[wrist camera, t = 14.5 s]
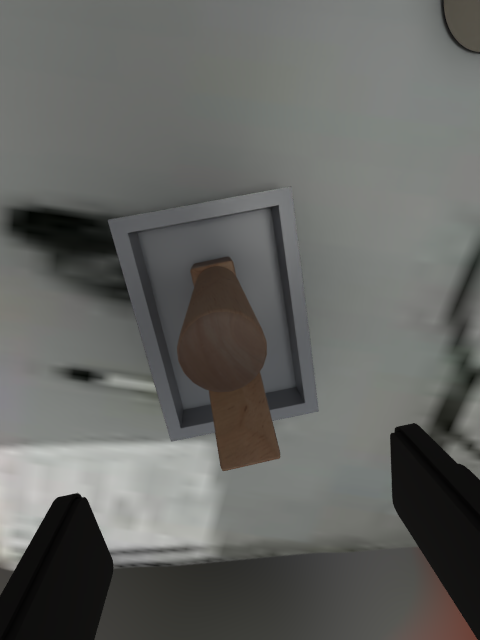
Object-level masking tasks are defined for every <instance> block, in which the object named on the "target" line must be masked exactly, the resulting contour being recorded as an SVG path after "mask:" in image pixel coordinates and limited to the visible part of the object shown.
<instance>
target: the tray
mask: <svg viewBox="0 0 480 640" xmlns="http://www.w3.org/2000/svg"><path fill="white" fill-rule="evenodd" d="M108 223H109V226H110V230H111V233H112V237H113V240H114V244H115V247H116V251H117V254H118V258H119V261H120V265H121V268H122V272H123V275H124V279H125V282H126V286H127V289H128V293H129V296H130V300H131V303H132V307H133V310H134V314H135V317H136V321H137V324H138V328H139V331H140V335H141V338H142V342H143V345H144V349H145V352H146V356H147V359H148V363H149V366H150V370H151V373H152V377H153V380H154V384H155V387H156V391H157V394H158V398H159V401H160V405H161V408H162V412H163V415H164V419H165V422H166V426H167V429H168V433H169V436H170V440H171V442H172V441H177V440H181V439H186V438H191V437H196V436H201V435H206V434H211V433H215V428H214V422H213V416H212V409H211V403H210V397H209V390H205V389H203V388H202V387H200V386H198V385H196V384H194V383H193V382H192V381H191V380H190V379H189V378H188V377H187V376H186V375H185V374H184V372H183V370H182V368H181V366H180V364H179V362H178V355H177V345H178V340H179V336H180V333H181V329H182V326H183V323H184V319H185V316H186V313H187V310H188V306H189V303H190V300H191V296H192V293H193V290H194V285H193V281H192V277H191V273H190V271H191V268H192V266H193V265H194V264H195V263H200V262H204V261H209V260H214V259H218V258H223V257H230V258H231V259H232V261H233V263H234V267H235V272H236V277H237V279H238V281H239V283H240V285H241V287H242V289H243V291H244V293H245V295H246V297H247V299H248V301H249V303H250V305H251V307H252V309H253V311H254V314H255V316H256V318H257V320H258V322H259V324H260V326H261V328H262V330H263V333H264V335H265V338H266V341H267V356H266V359H265V362H264V365H263V368H262V369H261V370H260V373H261V377H262V381H263V385H264V389H265V393H266V397H267V401H268V406H269V410H270V414H271V418H272V421H274V420H279V419H284V418H289V417H293V416H298V415H303V414H308V413H313V412H318V411H319V409H318V401H317V393H316V384H315V376H314V368H313V360H312V351H311V343H310V335H309V326H308V318H307V310H306V302H305V293H304V285H303V277H302V268H301V260H300V252H299V244H298V235H297V227H296V219H295V211H294V202H293V194H292V186H290V187H284V188H279V189H273V190H268V191H262V192H257V193H251V194H246V195H241V196H235V197H230V198H224V199H219V200H213V201H208V202H202V203H197V204H191V205H186V206H181V207H175V208H170V209H164V210H159V211H153V212H148V213H142V214H137V215H132V216H126V217H121V218H115V219H110V220H108Z"/></svg>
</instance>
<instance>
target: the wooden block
mask: <svg viewBox="0 0 480 640" xmlns="http://www.w3.org/2000/svg"><path fill="white" fill-rule="evenodd" d="M190 273H191V277H192V281H193V285H194V290H193V293H192V296H191V300H190V303H189V306H188V310H187V313H186V316H185V319H184V323H183V326H182V329H181V333H180V336H179V340H178V345H177V355H178V362H179V364H180V366H181V368H182V370H183V372H184V374H185V375H186V376H187V377H188V378H189V379H190V380H191V381H192V382H193V383H194V384H196V385H198V386H200V387H202V388H203V389H205V390H209V397H210V403H211V409H212V416H213V422H214V428H215V434H216V441H217V447H218V453H219V459H220V466H221V468H222V471H227V470H231V469H235V468H240V467H244V466H248V465H253V464H257V463H261V462H266V461H270V460H274V459H279V458H280V450H279V446H278V442H277V438H276V434H275V430H274V426H273V422H272V418H271V414H270V410H269V406H268V401H267V397H266V393H265V389H264V385H263V381H262V377H261V373H260V370H261V369H262V368H263V365H264V362H265V359H266V356H267V341H266V338H265V335H264V333H263V330H262V328H261V326H260V324H259V322H258V320H257V318H256V316H255V314H254V311H253V309H252V307H251V305H250V303H249V301H248V299H247V297H246V295H245V293H244V291H243V289H242V287H241V285H240V283H239V281H238V279H237V277H236V272H235V267H234V263H233V261H232V259H231V258H230V257H223V258H218V259H214V260H209V261H204V262H200V263H195V264H194V265H193V266H192V268H191V271H190Z"/></svg>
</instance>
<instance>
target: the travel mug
mask: <svg viewBox="0 0 480 640" xmlns="http://www.w3.org/2000/svg"><path fill="white" fill-rule="evenodd" d="M444 11H445V17H446V21H447V24H448V27H449V29H450V31H451V33H452V34H453V36H454V37H455V39H456V40H457V41H458V42H459V43H460V44H461V45H463V46H464V47H466V48H468V49H470V50H472V51H476V52H480V0H444Z"/></svg>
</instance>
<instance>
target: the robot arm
mask: <svg viewBox="0 0 480 640" xmlns="http://www.w3.org/2000/svg"><path fill="white" fill-rule="evenodd" d="M390 444H391V472H392V499H393V504H394V507H395V509H396V512H397V513H398V515H399V517H400V518H401V520H402V521H403V523H404V524H405V526H406V528H407V529H408V531H409V532H410V534H411V535H412V537H413V539H414V540H415V542H416V543H417V545H418V546H419V548H420V550H421V551H422V553H423V554H424V556H425V557H426V559H427V561H428V562H429V564H430V565H431V567H432V568H433V570H434V572H435V573H436V575H437V576H438V578H439V579H440V581H441V583H442V584H443V586H444V587H445V589H446V590H447V592H448V594H449V595H450V597H451V598H452V600H453V601H454V603H455V604H456V606H457V608H458V609H459V611H460V612H461V614H462V616H463V617H464V619H465V620H466V622H467V623H468V625H469V626H470V628H471V630H472V631H473V633H474V634H475V636H476V638H477V639H478V640H480V480H479V479H478V478H477V477H476V476H475V475H474V474H473V473H472V472H471V471H470V470H469V469H467V468H466V467H465V466H463V465H461V464H457V463H456V462H455V461H454V460H453V459H452V458H451V457H450V456H449V455H448V454H447V453H446V452H445V451H444V450H443V449H442V448H441V447H440V446H439V445H438V444H437V443H436V442H435V441H434V440H433V439H432V438H431V437H430V436H429V435H428V434H427V433H426V432H425V431H424V430H423V429H422V428H421V427H420V426H418V425H417V424H415V423H413V424H408V425H404V426H399V427H396V428H395V433H391V435H390ZM112 574H113V560H112V557H111V555H110V552H109V550H108V548H107V545H106V543H105V541H104V538H103V536H102V533H101V531H100V529H99V526H98V524H97V522H96V519H95V517H94V514H93V512H92V510H91V507H90V505H89V502H88V500H87V499H86V498H85V497H83V498H82V497H81V495H80V494H78V493H76V494H71V495H66V496H62V497H58V498H56V499H55V500H54V502H53V503H52V505H51V507H50V509H49V510H48V512H47V514H46V516H45V518H44V519H43V521H42V523H41V525H40V526H39V528H38V530H37V532H36V533H35V535H34V537H33V539H32V541H31V542H30V544H29V546H28V548H27V549H26V551H25V553H24V555H23V556H22V558H21V560H20V562H19V564H18V565H17V567H16V569H15V571H14V573H13V574H12V576H11V578H10V579H9V582H8V583H7V585H6V587H5V588H4V590H3V592H2V594H1V595H0V640H94V638H95V635H96V631H97V628H98V624H99V621H100V617H101V613H102V610H103V606H104V603H105V599H106V596H107V592H108V589H109V585H110V582H111V578H112Z"/></svg>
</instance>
